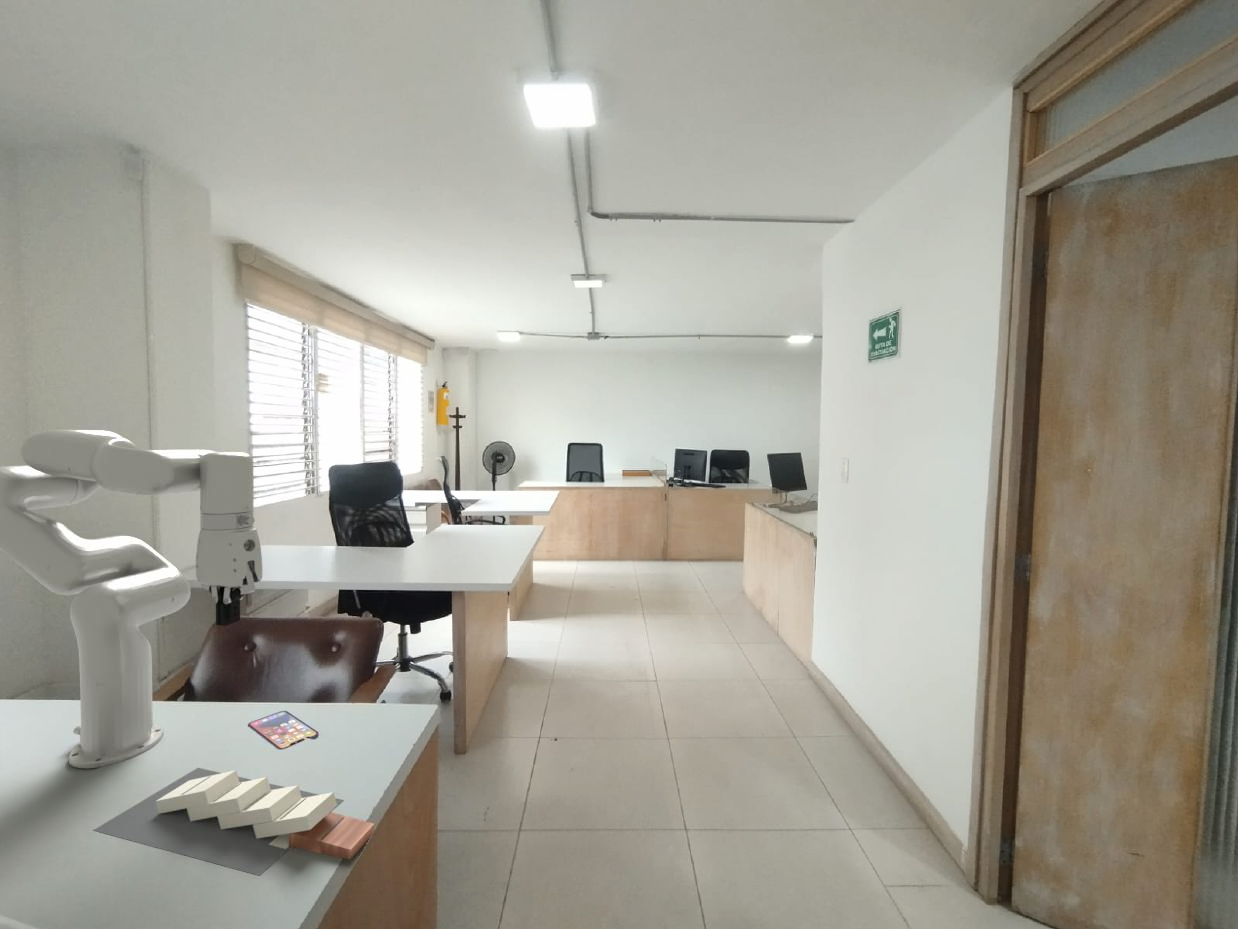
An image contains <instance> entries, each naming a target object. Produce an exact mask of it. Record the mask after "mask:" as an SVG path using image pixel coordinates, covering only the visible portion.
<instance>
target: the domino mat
mask: <svg viewBox="0 0 1238 929" xmlns="http://www.w3.org/2000/svg"><path fill="white" fill-rule="evenodd" d="M221 773H222V772H219V771H214V770H209V769H205V768H200V767H197V768H195V769H194V770H192V771H190V772H188V773H186V774H185V775H183V776H181V777H180V778H178V779H176V780H175V781H173V782H172V783H169V784H168V785H167V786H164V787H162V788H161V789H160V790H158V791H156V792H155V793H153V794H150V796H148V797H146V798H144V799H143V800H141V801H140V802H138V803H137V804H134V805H133V806H131V807H129V808H128V809H126V810H125V811H123V812H121V813H120V814H118V815H116V816H114V817H113V818H110V820H108V821H106V822H104V823H103V824H101V825H99V826H98V827H96V828H95V829H93V830H92V831H94V832H98V833H102V834H105V835H109V836H112V837H116V838H119V839H124V840H127V841H130V842H131V841H132V842H134V843H138V844H141V845H145V846H148V847H153V848H156V849H159V850H160V849H161V850H162V851H163V850H164V851H166V852H171V853H175V854H178V855H182V856H185V857H188V858H189V857H190V858H193V859H197V860H201V861H204V862H208V863H212V864H215V865H219V866H223V867H226V868H230V869H233V870H238V871H241V872H244V873H249V874H251V875H256V876H261V875H263V874H264V873H265V872H266V871H267V870H268V869H270V868H271V866H273V865H274V864H275V863H276V862H278V860H279V859H281V858H282V857H283V856H284V855H285V854H286V853H287V852H288V851H290V850H291V849H292V847H291V846H289V833H288V834H282V835H276V836H270V837H263V838H256V835H255V831H254V828H253V825H254V824H252V825H245V826H239V827H233V828H226V829H221V828H220V824H219V820H218V817H217V816H215V817H210V818H205V819H200V820H195V821H190V818H189V815H188V811H187V808H185V809H180V810H175V811H170V812H165V813H160V814H159V811H158V807H157V804H156V801H157V800H158V799H160V798H162V797H163V796H165V795H166V794H168V793H170V792H171V791H173V790H174V789H176V788H178V787H179V786H181V785H183V784H184V783H186V782H187V781H189V780H193V779H198V778H202V777H207V776H212V775H216V774H221ZM238 778H239V783H241V782H245V781H250V780H252V779H250V778H247V777H246V778H245V777H241V776H238ZM269 785H270V790H274V789H280V788H285V787H286V786H282V785H277V784H273V783H269ZM299 790H300V793H301V797H302V798H305V797H311V796H316V795H320V794H318V793H315V792H314V793H313V792H309V791H304V790H301V789H299ZM335 799H336V802H337V806H336V807H335V808H334V809H333V810H332V811H334V810H335V809H336V808H337V807H338V806H340V804H342V802H344V801H345V800H344V799H340V798H336V797H335ZM332 811H330V812H332Z"/></svg>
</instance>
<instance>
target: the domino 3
mask: <svg viewBox="0 0 1238 929" xmlns="http://www.w3.org/2000/svg"><path fill="white" fill-rule="evenodd" d="M284 787H285V788H280V789H274V790H269V791H268V792H266V793H265V794H264V795H262V796H261V797H260V798H258V799H257V800H256V801H254V802H253V803H251V804H250V805H249V806H247V807H246V808H245V809H243V810H242V811H241V812H235V813H230V814H225V815H220V816H217V817H218V820H219V824H220V828H221V829H226V828H233V827H239V826H245V825H252V824H258V823H264V822H271V821H274V820H275V819H276V818H277V817H279V816H280V815H281V814H282V813H284V812H285V811H286V810H287V809H289V808H290V807H291V806H292V805H294V804H295V803H296V802H297V801H299V800H300V799H301V798H302V797H301V793H300V790H301V789H300V786H299V785H293V786H284Z"/></svg>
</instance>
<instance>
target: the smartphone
mask: <svg viewBox="0 0 1238 929" xmlns="http://www.w3.org/2000/svg"><path fill="white" fill-rule="evenodd" d="M247 727H248V728H250V729H251V730H252V731H254V732H255V733H256V734H257V735H259V736H260V737H261V738H263V739H265V740H266V741H267V742H268V743H269V744H271V746H273V747H274V748H276V749H277V750H286V749H288V748H290V747H294V746H295V745H298V744H300V743H302V742H304V741H305V740H306V739H309V740H314V739H317V738H318V737H319V731H317V730H316V729H314V728H313V727H312V726H310V725H308V724H307V723H305V722H303V721H302V720H301V719H299V718H298V717H297V716H295V715H293V714H292V713H291V712H289V711H287V710H281V711H278V712H275V713H272V714H270V715H267V716H264V717H261V718H258V719H255V720H253V721H251V722H248V724H247Z"/></svg>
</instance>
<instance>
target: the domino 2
mask: <svg viewBox="0 0 1238 929" xmlns="http://www.w3.org/2000/svg"><path fill="white" fill-rule="evenodd" d="M269 784H270V782H269V778H268V776H264V777H261V778H256V779H255V778H254V779H251V780H250V781H245V782H241V783H238V784H237V785H235V786H234V787H232V788H231V789H229V790H228V791H226V792H225V793H223V794H222V795H221V796H219V797H218V798H216V799H215V800H213V801H212V802H210V803H209V804H205V805H200V806H195V807H190V808H187V811H188V815H189V818H190V821H195V820H200V819H205V818H210V817H215V816H220V815H225V814H230V813H235V812H241V811H242V810H243V809H245V808H246V807H247V806H249V805H250V804H251V803H253V802H254V801H256V800H257V799H258V798H260V797H261V796H262V795H264V794H265V793H266V792H268V791H269V790H270V785H269Z"/></svg>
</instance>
